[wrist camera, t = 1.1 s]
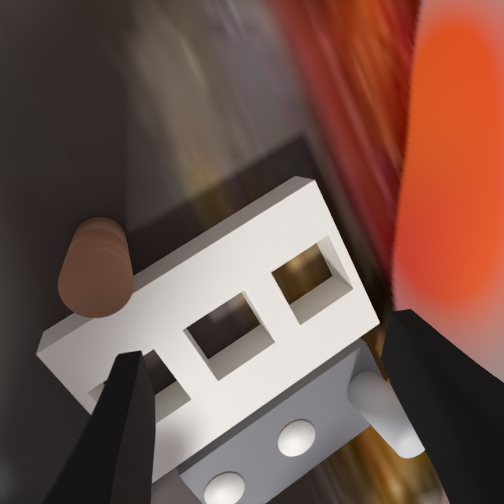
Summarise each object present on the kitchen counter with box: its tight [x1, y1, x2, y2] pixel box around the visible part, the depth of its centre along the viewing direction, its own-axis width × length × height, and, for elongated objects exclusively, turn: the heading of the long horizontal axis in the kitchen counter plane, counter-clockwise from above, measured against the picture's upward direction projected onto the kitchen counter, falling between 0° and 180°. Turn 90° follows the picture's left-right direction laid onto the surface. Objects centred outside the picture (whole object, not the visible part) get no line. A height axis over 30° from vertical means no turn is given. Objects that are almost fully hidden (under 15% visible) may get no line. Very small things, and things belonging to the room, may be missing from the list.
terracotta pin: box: [58, 217, 134, 318], centre depth 18 cm, size 3×3×7 cm
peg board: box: [36, 176, 380, 483], centre depth 24 cm, size 16×10×2 cm, turn 119°
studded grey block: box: [177, 337, 425, 504], centre depth 25 cm, size 14×6×6 cm, turn 119°
